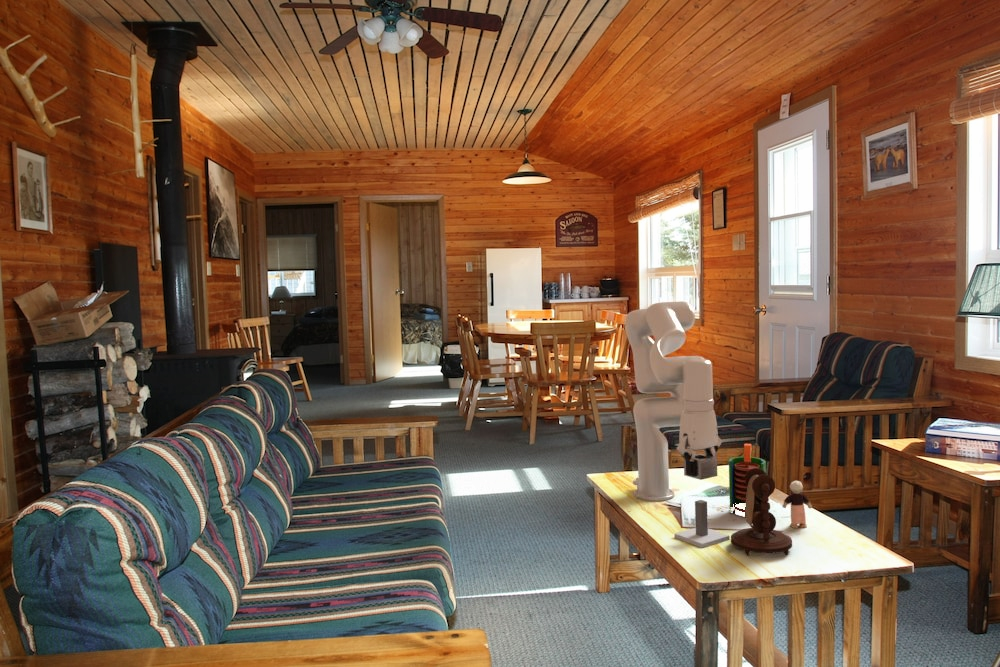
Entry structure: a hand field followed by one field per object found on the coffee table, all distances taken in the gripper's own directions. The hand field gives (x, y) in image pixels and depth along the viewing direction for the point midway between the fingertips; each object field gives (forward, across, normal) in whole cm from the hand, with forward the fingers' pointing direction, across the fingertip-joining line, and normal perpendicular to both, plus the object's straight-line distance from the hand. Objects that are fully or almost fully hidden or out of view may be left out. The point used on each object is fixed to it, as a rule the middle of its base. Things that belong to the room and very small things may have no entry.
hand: (700, 472), depth 198 cm
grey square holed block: (+1, 0, 0) cm, 1 cm away
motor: (+18, -26, -7) cm, 32 cm away
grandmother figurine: (+18, -27, +9) cm, 34 cm away
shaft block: (+18, 0, 0) cm, 18 cm away
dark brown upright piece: (+18, -6, +14) cm, 24 cm away
